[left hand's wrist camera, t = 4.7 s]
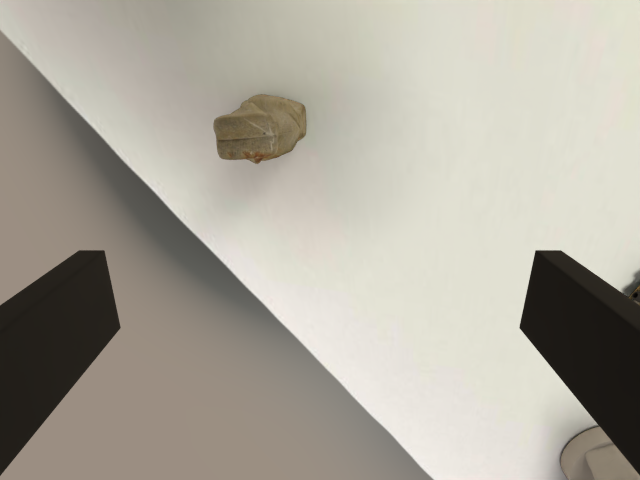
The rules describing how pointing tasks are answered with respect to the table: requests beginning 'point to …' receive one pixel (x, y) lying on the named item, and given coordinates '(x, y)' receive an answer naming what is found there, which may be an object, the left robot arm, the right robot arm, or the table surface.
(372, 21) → the table surface
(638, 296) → the spray gun
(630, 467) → the bust sculpture
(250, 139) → the sculpture
